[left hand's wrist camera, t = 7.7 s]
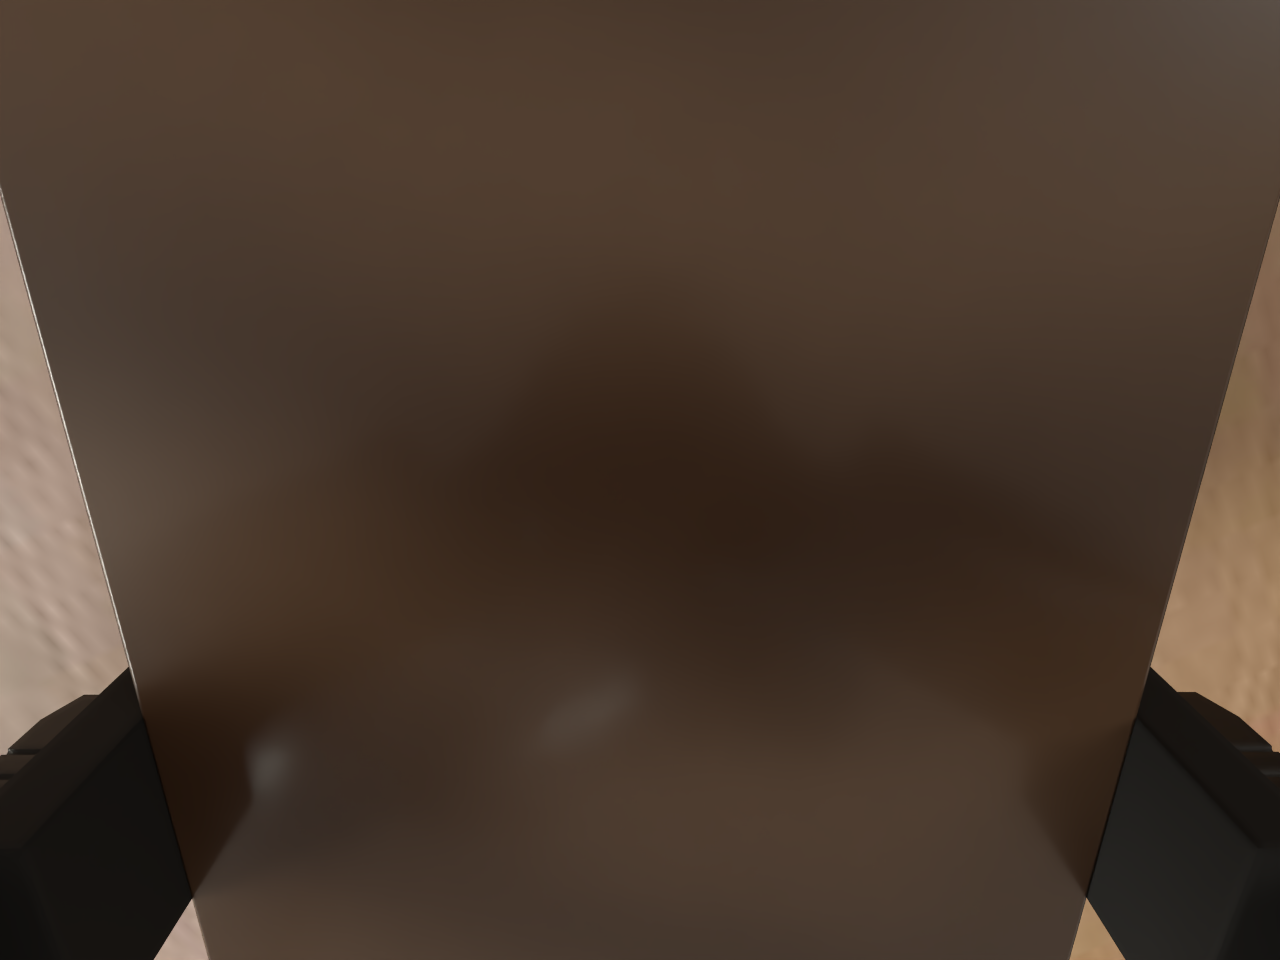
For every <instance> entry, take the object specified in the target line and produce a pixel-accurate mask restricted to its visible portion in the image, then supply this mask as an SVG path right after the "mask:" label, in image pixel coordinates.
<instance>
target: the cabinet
mask: <svg viewBox="0 0 1280 960" xmlns="http://www.w3.org/2000/svg"><path fill="white" fill-rule="evenodd" d="M0 196H1V200H2V203H3V207H4V210H5V214H6V218H7V221H8V225H9V229H10V232H11V236H12V240H13V243H14V247H15V251H16V254H17V258H18V262H19V265H20V269H21V273H22V276H23V280H24V284H25V287H26V291H27V295H28V298H29V302H30V306H31V309H32V313H33V317H34V320H35V324H36V328H37V331H38V335H39V339H40V342H41V346H42V350H43V353H44V357H45V361H46V364H47V368H48V372H49V375H50V379H51V383H52V386H53V390H54V394H55V397H56V401H57V405H58V408H59V412H60V416H61V419H62V423H63V427H64V430H65V434H66V438H67V441H68V445H69V449H70V452H71V456H72V460H73V463H74V467H75V471H76V474H77V478H78V482H79V485H80V489H81V493H82V496H83V500H84V504H85V507H86V511H87V515H88V518H89V522H90V526H91V529H92V533H93V537H94V540H95V544H96V548H97V551H98V555H99V559H100V562H101V566H102V570H103V573H104V577H105V581H106V584H107V588H108V592H109V595H110V599H111V603H112V606H113V610H114V614H115V617H116V621H117V625H118V628H119V632H120V636H121V639H122V643H123V647H124V650H125V654H126V658H127V661H128V665H129V669H130V672H131V676H132V680H133V683H134V687H135V691H136V694H137V698H138V702H139V705H140V709H141V713H142V716H143V720H144V724H145V727H146V731H147V735H148V738H149V742H150V746H151V749H152V753H153V757H154V760H155V764H156V768H157V771H158V775H159V779H160V782H161V786H162V790H163V793H164V797H165V801H166V804H167V808H168V812H169V815H170V819H171V823H172V826H173V830H174V834H175V837H176V841H177V845H178V848H179V852H180V856H181V859H182V863H183V867H184V870H185V874H186V878H187V881H188V885H189V889H190V892H191V896H192V900H193V903H194V907H195V911H196V914H197V918H198V922H199V925H200V929H201V933H202V936H203V940H204V944H205V947H206V951H207V955H208V958H209V960H1069V959H1070V955H1071V951H1072V948H1073V944H1074V941H1075V937H1076V933H1077V930H1078V926H1079V923H1080V919H1081V915H1082V912H1083V908H1084V904H1085V901H1086V897H1087V894H1088V890H1089V886H1090V883H1091V879H1092V875H1093V872H1094V868H1095V865H1096V861H1097V857H1098V854H1099V850H1100V847H1101V843H1102V839H1103V836H1104V832H1105V828H1106V825H1107V821H1108V818H1109V814H1110V810H1111V807H1112V803H1113V799H1114V796H1115V792H1116V789H1117V785H1118V781H1119V778H1120V774H1121V771H1122V767H1123V763H1124V760H1125V756H1126V752H1127V749H1128V745H1129V742H1130V738H1131V734H1132V731H1133V727H1134V724H1135V720H1136V716H1137V713H1138V709H1139V705H1140V702H1141V698H1142V695H1143V691H1144V687H1145V684H1146V680H1147V676H1148V673H1149V669H1150V666H1151V662H1152V658H1153V655H1154V651H1155V648H1156V644H1157V640H1158V637H1159V633H1160V629H1161V626H1162V622H1163V619H1164V615H1165V611H1166V608H1167V604H1168V600H1169V597H1170V593H1171V590H1172V586H1173V582H1174V579H1175V575H1176V572H1177V568H1178V564H1179V561H1180V557H1181V553H1182V550H1183V546H1184V543H1185V539H1186V535H1187V532H1188V528H1189V525H1190V521H1191V517H1192V514H1193V510H1194V506H1195V503H1196V499H1197V496H1198V492H1199V488H1200V485H1201V481H1202V477H1203V474H1204V470H1205V467H1206V463H1207V459H1208V456H1209V452H1210V449H1211V445H1212V441H1213V438H1214V434H1215V430H1216V427H1217V423H1218V420H1219V416H1220V412H1221V409H1222V405H1223V401H1224V398H1225V394H1226V391H1227V387H1228V383H1229V380H1230V376H1231V373H1232V369H1233V365H1234V362H1235V358H1236V354H1237V351H1238V347H1239V344H1240V340H1241V336H1242V333H1243V329H1244V326H1245V322H1246V318H1247V315H1248V311H1249V307H1250V304H1251V300H1252V297H1253V293H1254V289H1255V286H1256V282H1257V278H1258V275H1259V271H1260V268H1261V264H1262V260H1263V257H1264V253H1265V250H1266V246H1267V242H1268V239H1269V235H1270V231H1271V228H1272V224H1273V221H1274V217H1275V213H1276V210H1277V206H1278V202H1279V199H1280V0H0Z"/></svg>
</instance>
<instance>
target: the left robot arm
mask: <svg viewBox="0 0 1280 960" xmlns="http://www.w3.org/2000/svg"><path fill="white" fill-rule="evenodd" d="M191 899H192V896H191V892H190V889H189V885H188V881H187V878H186V874H185V870H184V867H183V863H182V859H181V856H180V852H179V848H178V845H177V841H176V837H175V834H174V830H173V826H172V823H171V819H170V815H169V812H168V808H167V804H166V801H165V797H164V793H163V790H162V786H161V782H160V779H159V775H158V771H157V768H156V764H155V760H154V757H153V753H152V749H151V746H150V742H149V738H148V735H147V731H146V727H145V724H144V720H143V716H142V713H141V709H140V705H139V702H138V698H137V694H136V691H135V687H134V683H133V680H132V676H131V672H130V669H129V667H128V668H127V669H126V670H125V671H124V672H123V673H122V674H121V675H120V676H119V677H117V678H116V679H115V680H114V681H113V682H112V683H111V684H110V685H109V686H108V687H107V688H106V689H105V690H104V691H103V692H102V693H101V694H99V695H83V696H81V697H79V698H78V699H76V700H74V701H72V702H71V703H69V704H67V705H66V706H64V707H62V708H60V709H59V710H57V711H55V712H53V713H52V714H50V715H48V716H46V717H45V718H43V719H41V720H40V721H39V722H38V723H37V724H36V725H34V726H33V727H32V728H31V729H30V730H29V731H28V732H27V733H25V734H24V735H23V736H22V737H21V738H20V739H19V740H18V741H17V742H15V743H14V744H13V745H12V746H11V747H10V748H9V749H8V754H7V755H1V756H0V960H154V958H155V957H156V955H157V953H158V952H159V950H160V949H161V947H162V945H163V944H164V942H165V941H166V939H167V938H168V936H169V934H170V933H171V931H172V930H173V928H174V926H175V925H176V923H177V922H178V920H179V918H180V917H181V915H182V914H183V912H184V910H185V909H186V907H187V906H188V904H189V902H190V901H191ZM1087 899H1088V901H1089V902H1090V904H1091V905H1092V907H1093V909H1094V910H1095V912H1096V913H1097V915H1098V916H1099V918H1100V920H1101V921H1102V923H1103V924H1104V926H1105V928H1106V929H1107V931H1108V932H1109V934H1110V936H1111V937H1112V939H1113V940H1114V942H1115V944H1116V945H1117V947H1118V948H1119V950H1120V952H1121V953H1122V955H1123V956H1124V958H1125V960H1280V753H1279V752H1273V751H1272V746H1271V745H1270V744H1269V743H1268V742H1267V741H1266V740H1264V739H1263V738H1262V737H1261V736H1260V735H1259V734H1258V733H1257V732H1255V731H1254V730H1253V729H1252V728H1251V727H1250V726H1249V725H1248V724H1246V723H1245V722H1244V721H1243V720H1242V719H1241V718H1240V717H1238V716H1237V715H1235V714H1233V713H1231V712H1230V711H1228V710H1226V709H1224V708H1223V707H1221V706H1219V705H1217V704H1216V703H1214V702H1212V701H1210V700H1209V699H1207V698H1205V697H1203V696H1202V695H1200V694H1198V693H1196V692H1176V691H1175V690H1174V689H1173V688H1172V687H1171V686H1170V685H1169V684H1168V683H1167V682H1166V681H1165V680H1164V679H1163V678H1162V677H1161V676H1159V675H1158V674H1157V673H1156V672H1155V671H1154V670H1153V669H1152V668H1151V667H1150V669H1149V673H1148V676H1147V680H1146V684H1145V687H1144V691H1143V695H1142V698H1141V702H1140V705H1139V709H1138V713H1137V716H1136V720H1135V724H1134V727H1133V731H1132V734H1131V738H1130V742H1129V745H1128V749H1127V752H1126V756H1125V760H1124V763H1123V767H1122V771H1121V774H1120V778H1119V781H1118V785H1117V789H1116V792H1115V796H1114V799H1113V803H1112V807H1111V810H1110V814H1109V818H1108V821H1107V825H1106V828H1105V832H1104V836H1103V839H1102V843H1101V847H1100V850H1099V854H1098V857H1097V861H1096V865H1095V868H1094V872H1093V875H1092V879H1091V883H1090V886H1089V890H1088V894H1087Z"/></svg>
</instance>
